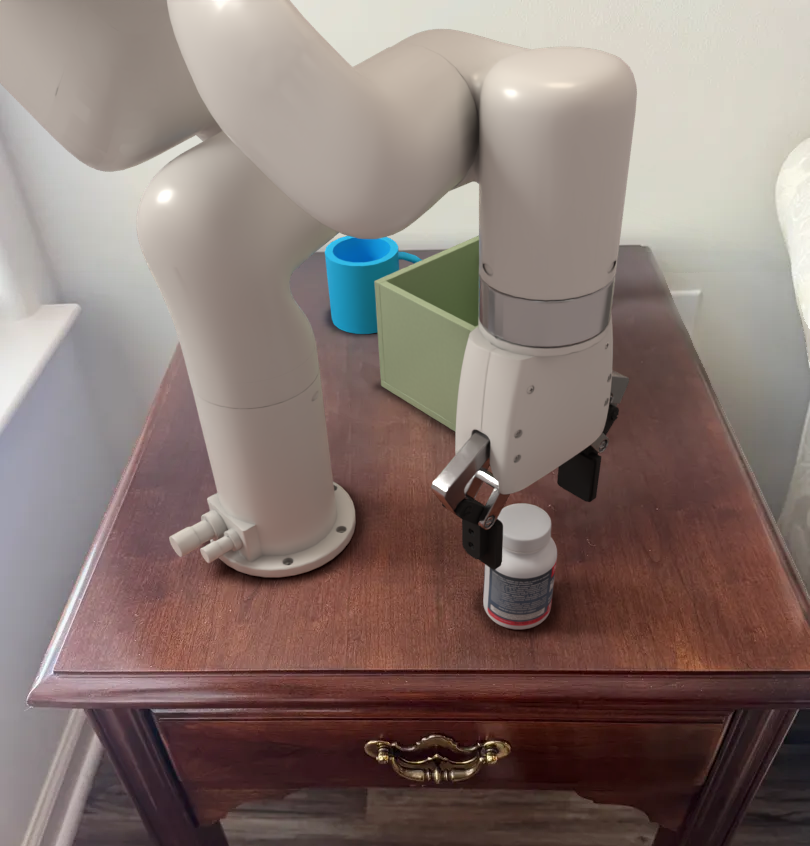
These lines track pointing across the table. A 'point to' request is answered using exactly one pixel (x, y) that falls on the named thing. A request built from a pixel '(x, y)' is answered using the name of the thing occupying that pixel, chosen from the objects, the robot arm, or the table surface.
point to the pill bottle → (522, 569)
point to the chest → (428, 328)
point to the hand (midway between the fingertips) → (530, 523)
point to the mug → (359, 279)
